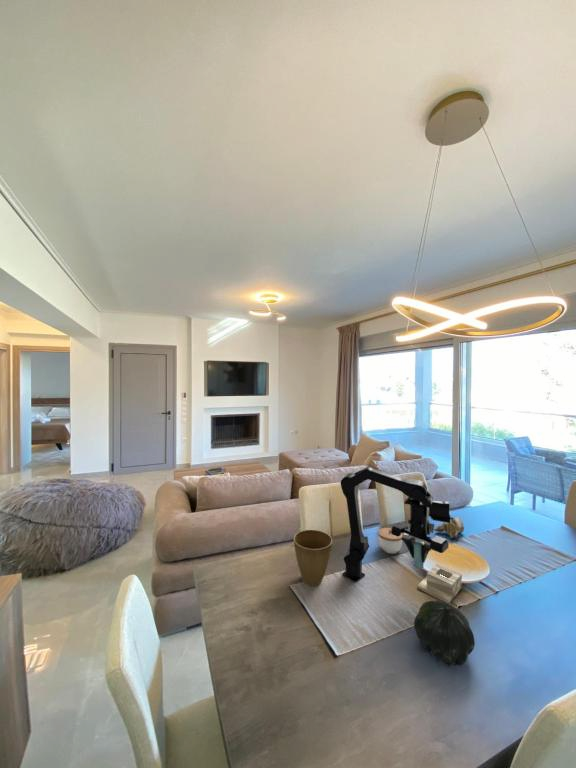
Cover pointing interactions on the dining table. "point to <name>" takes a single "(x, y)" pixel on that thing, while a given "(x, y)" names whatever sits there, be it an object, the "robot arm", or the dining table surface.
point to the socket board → (435, 591)
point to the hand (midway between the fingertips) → (418, 560)
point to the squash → (444, 632)
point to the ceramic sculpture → (451, 527)
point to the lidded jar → (389, 540)
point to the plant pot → (312, 554)
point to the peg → (418, 555)
